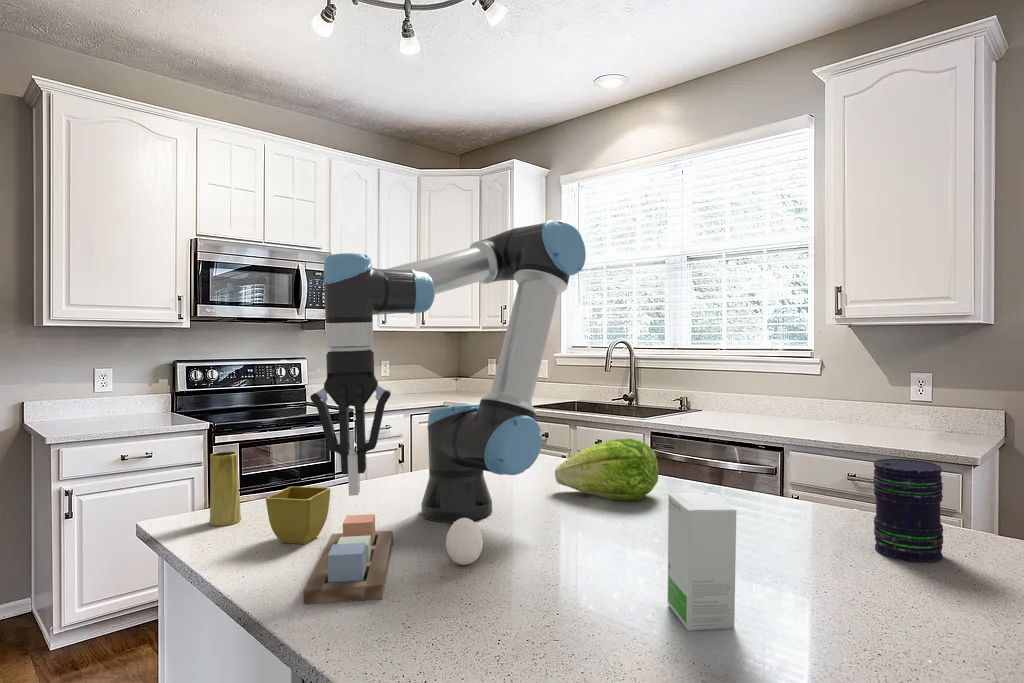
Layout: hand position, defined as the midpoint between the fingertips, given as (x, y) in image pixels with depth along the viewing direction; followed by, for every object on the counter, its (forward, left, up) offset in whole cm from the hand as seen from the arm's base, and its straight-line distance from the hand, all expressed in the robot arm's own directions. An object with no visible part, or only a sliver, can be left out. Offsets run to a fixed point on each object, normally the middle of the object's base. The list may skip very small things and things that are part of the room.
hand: (354, 493), depth 103 cm
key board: (0, 0, -12) cm, 12 cm away
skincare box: (-48, +26, -13) cm, 56 cm away
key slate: (0, +8, -10) cm, 13 cm away
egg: (-18, +1, -13) cm, 22 cm away
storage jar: (-92, +9, -13) cm, 93 cm away
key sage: (0, 0, -12) cm, 12 cm away
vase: (+30, -32, -13) cm, 46 cm away
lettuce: (-53, -38, -13) cm, 66 cm away
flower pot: (+12, -17, -13) cm, 24 cm away
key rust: (0, -8, -10) cm, 13 cm away
